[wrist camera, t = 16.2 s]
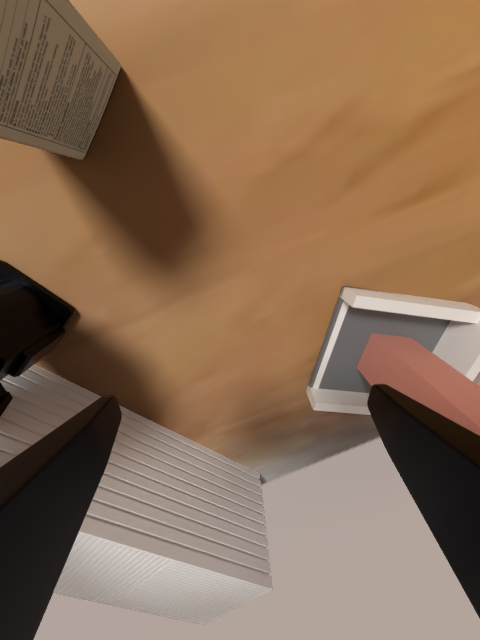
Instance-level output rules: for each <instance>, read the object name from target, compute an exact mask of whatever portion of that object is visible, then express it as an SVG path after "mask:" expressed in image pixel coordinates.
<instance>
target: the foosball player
mask: <svg viewBox="0 0 480 640" xmlns="http://www.w3.org/2000/svg"><path fill="white" fill-rule="evenodd" d="M357 369H358V370H359V371H360V372H361V374H362V375H363V376H364V377H365V379H366V380H367V381H368V383H369V384H370V385H371V386H372V385H374V384H386V385H388V386H390V387H392V388H394V389H396V390H397V391H399V392H401V393H403V394H405V395H407V396H408V397H410V398H412V399H414V400H416V401H417V402H419V403H421V404H423V405H425V406H427V407H428V408H430V409H432V410H434V411H436V412H437V413H439V414H441V415H443V416H445V417H446V418H448V419H450V420H452V421H454V422H456V423H457V424H459V425H461V426H463V427H465V428H466V429H468V430H470V431H472V432H474V433H476V434H477V435H479V436H480V386H478V385H477V384H475V383H474V382H473V381H471V380H470V379H468V378H467V377H466V376H464V375H463V374H461V373H460V372H459V371H457V370H456V369H454V368H453V367H452V366H450V365H449V364H447V363H446V362H444V361H443V360H442V359H440V358H439V357H437V356H436V355H435V354H433V353H432V352H430V351H429V350H428V349H426V348H425V347H423V346H422V345H421V344H419V343H418V342H416V341H415V340H414V339H412V338H410V337H402V336H394V335H386V334H377V333H371V336H370V338H369V340H368V343H367V345H366V347H365V349H364V352H363V354H362V356H361V358H360V361H359V363H358V365H357Z"/></svg>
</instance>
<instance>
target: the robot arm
mask: <svg viewBox="0 0 480 640" xmlns="http://www.w3.org/2000/svg"><path fill="white" fill-rule="evenodd" d="M65 309H66V310H67V311H68V312H66V311H65ZM73 314H74V309H73V308H72V307H71V306H70V305H68V304H67V303H65V302H64V301H62V300H61V299H59V298H58V297H56V296H55V295H53V294H52V293H50V292H49V291H47V290H46V289H44V288H43V287H41V286H40V285H38V284H37V283H35V282H34V281H32V280H31V279H29V278H28V277H26V276H25V275H23V274H22V273H20V272H18V271H17V270H15V269H14V268H12V267H11V266H9V265H8V264H6V263H5V262H3V261H1V260H0V381H1V380H2V379H3V378H5V377H6V376H7V375H10V376H12V377H18V376H20V375H21V374H23V373H24V372H25V371H26V370H28V369H29V368H30V367H31V366H33V365H34V364H35V363H37V362H38V361H39V360H40V359H42V358H43V357H44V356H45V355H47V354H48V353H49V352H50V351H52V350H53V349H54V347H55V346H56V345H57V343H58V342H59V341H60V339H61V338H62V336H63V335H64V334H65V329H64V326H65V325H66V323H67V322H68V321H69V319H70V318H71V316H72V315H73ZM12 399H13V397H12V395H11V394H10V392H8V391H6V390H5V388H4V387H3V385H2V384H1V382H0V416H1V415H2V414H3V412H4V411H5V409H6V408H7V406H8V405H9V403H10V402H11V400H12ZM367 406H368V409H369V412H370V414H371V416H372V418H373V421H374V423H375V425H376V428H377V430H378V432H379V434H380V437H381V439H382V441H383V444H384V446H385V448H386V450H387V452H388V454H389V456H390V457H391V459H392V461H393V463H394V465H395V467H396V468H397V470H398V472H399V474H400V476H401V477H402V479H403V481H404V483H405V485H406V486H407V488H408V490H409V492H410V494H411V495H412V497H413V499H414V501H415V503H416V504H417V506H418V508H419V510H420V512H421V514H422V515H423V517H424V519H425V521H426V523H427V524H428V526H429V528H430V530H431V531H432V533H433V535H434V537H435V539H436V541H437V542H438V544H439V546H440V548H441V549H442V551H443V553H444V555H445V557H446V558H447V560H448V562H449V564H450V566H451V568H452V569H453V571H454V573H455V575H456V576H457V578H458V580H459V582H460V584H461V586H462V587H463V589H464V591H465V593H466V595H467V596H468V598H469V600H470V602H471V604H472V605H473V607H474V609H475V611H476V613H477V614H478V616H479V618H480V436H479V435H477V434H476V433H474V432H472V431H470V430H468V429H466V428H465V427H463V426H461V425H459V424H457V423H456V422H454V421H452V420H450V419H448V418H446V417H445V416H443V415H441V414H439V413H437V412H436V411H434V410H432V409H430V408H428V407H427V406H425V405H423V404H421V403H419V402H417V401H416V400H414V399H412V398H410V397H408V396H407V395H405V394H403V393H401V392H399V391H397V390H396V389H394V388H392V387H390V386H388V385H386V384H374V385H372V387H371V390H370V393H369V397H368V401H367ZM121 419H122V412H121V409H120V406H119V403H118V400H117V397H116V396H114V395H111V396H102V397H100V398H99V399H97V400H96V401H95V402H93V403H92V404H90V405H89V406H87V407H86V408H85V409H83V410H82V411H80V412H79V413H77V414H76V415H74V416H73V417H72V418H70V419H69V420H67V421H66V422H64V423H63V424H62V425H60V426H59V427H57V428H56V429H54V430H53V431H52V432H50V433H49V434H47V435H46V436H44V437H43V438H42V439H40V440H39V441H37V442H36V443H34V444H33V445H32V446H30V447H29V448H27V449H26V450H24V451H23V452H21V453H20V454H19V455H17V456H16V457H14V458H13V459H11V460H10V461H9V462H7V463H6V464H4V465H3V466H1V467H0V640H33V639H34V637H35V634H36V632H37V630H38V627H39V625H40V622H41V620H42V618H43V615H44V613H45V611H46V608H47V606H48V603H49V601H50V599H51V596H52V594H53V592H54V589H55V587H56V585H57V582H58V580H59V578H60V575H61V573H62V570H63V568H64V566H65V563H66V561H67V559H68V556H69V554H70V552H71V549H72V547H73V545H74V542H75V540H76V537H77V535H78V533H79V530H80V528H81V526H82V523H83V521H84V519H85V516H86V514H87V511H88V509H89V507H90V504H91V502H92V500H93V497H94V495H95V493H96V490H97V488H98V485H99V483H100V481H101V478H102V476H103V474H104V471H105V469H106V466H107V463H108V461H109V458H110V454H111V451H112V448H113V445H114V442H115V438H116V435H117V432H118V429H119V426H120V422H121Z"/></svg>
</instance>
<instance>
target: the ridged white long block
mask: <svg viewBox="0 0 480 640" xmlns="http://www.w3.org/2000/svg"><path fill="white" fill-rule="evenodd" d="M0 382H1V384H2V385H3V387H4V388H5V390H6V391H8V392H10V394H11V395H12V397H13V399H12V400H11V402H10V403H9V405H8V406H7V408H6V409H5V411H4V412H3V414H2V415H1V416H0V467H1V466H3V465H4V464H6V463H7V462H9V461H10V460H11V459H13V458H14V457H16V456H17V455H19V454H20V453H21V452H23V451H24V450H26V449H27V448H29V447H30V446H32V445H33V444H34V443H36V442H37V441H39V440H40V439H42V438H43V437H44V436H46V435H47V434H49V433H50V432H52V431H53V430H54V429H56V428H57V427H59V426H60V425H62V424H63V423H64V422H66V421H67V420H69V419H70V418H72V417H73V416H74V415H76V414H77V413H79V412H80V411H82V410H83V409H85V408H86V407H87V406H89V405H90V404H92V403H93V402H95V401H96V400H97V399H99V398H100V397H101V396H99V395H97V394H95V393H93V392H91V391H89V390H87V389H85V388H83V387H80V386H78V385H76V384H74V383H72V382H70V381H68V380H66V379H64V378H62V377H60V376H58V375H56V374H54V373H52V372H50V371H48V370H45V369H43V368H41V367H39V366H37V365H35V364H34V365H33V366H31V367H30V368H29V369H28V370H26V371H25V372H24V373H23V374H21V375H20V376H18V377H12V376H10V375H7V376H6V377H5V378H3V379H2V380H1V381H0ZM119 406H120V405H119ZM120 409H121V412H122V419H121V422H120V426H119V429H118V432H117V435H116V438H115V442H114V445H113V448H112V451H111V454H110V458H109V461H108V463H107V466H106V469H105V471H104V474H103V476H102V478H101V481H100V483H99V485H98V488H97V490H96V493H95V495H94V497H93V500H92V502H91V504H90V507H89V509H88V511H87V514H86V516H85V519H84V521H83V523H82V526H81V528H80V530H79V533H78V535H77V537H76V540H75V542H74V545H73V547H72V549H71V552H70V554H69V556H68V559H67V561H66V563H65V566H64V568H63V570H62V573H61V575H60V578H59V580H58V582H57V585H56V587H55V589H54V592H53V593H56V594H59V595H64V596H69V597H74V598H78V599H83V600H88V601H93V602H97V603H102V604H107V605H112V606H116V607H121V608H125V609H130V610H135V611H140V612H144V613H150V614H154V615H158V616H163V617H168V618H173V619H177V620H182V621H187V622H191V623H196V624H201V625H206V624H208V623H210V622H212V621H214V620H216V619H218V618H219V617H221V616H223V615H225V614H227V613H229V612H231V611H233V610H234V609H236V608H238V607H240V606H242V605H244V604H245V603H248V602H249V601H251V600H253V599H255V598H257V597H259V596H261V595H263V594H265V593H267V592H268V591H270V590H272V589H273V588H272V579H271V576H269V573H270V572H271V570H270V563H269V562H268V561H267V560H268V559H269V552H268V550H267V549H266V547H268V544H267V538H266V537H265V535H266V527H265V526H264V524H265V517H264V516H263V514H264V508H263V506H262V504H263V499H262V497H261V496H262V490H261V489H260V487H261V481H260V480H259V479H260V473H258V472H256V471H254V470H251V469H249V468H247V467H245V466H243V465H241V464H239V463H237V462H235V461H233V460H231V459H229V458H227V457H225V456H223V455H221V454H218V453H216V452H214V451H212V450H210V449H208V448H206V447H204V446H202V445H200V444H198V443H196V442H194V441H192V440H190V439H188V438H186V437H183V436H181V435H179V434H177V433H175V432H173V431H171V430H169V429H167V428H165V427H163V426H161V425H159V424H157V423H155V422H153V421H151V420H148V419H146V418H144V417H142V416H140V415H138V414H136V413H134V412H132V411H130V410H128V409H126V408H124V407H122V406H120Z"/></svg>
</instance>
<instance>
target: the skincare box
mask: <svg viewBox="0 0 480 640" xmlns="http://www.w3.org/2000/svg"><path fill="white" fill-rule="evenodd" d="M120 67H121V66H120V63H119V62H118V60H117V59H116V58H115V57H114V55H113V54H112V53H111V52H110V51H109V49H108V48H107V47H106V46H105V44H104V43H103V42H102V41H101V39H100V38H99V37H98V36H97V35H96V33H95V32H94V31H93V30H92V28H91V27H90V26H89V25H88V23H87V22H86V21H85V20H84V19H83V17H82V16H81V15H80V14H79V12H78V11H77V10H76V9H75V8H74V6H73V5H72V4H71V3H70V1H69V0H0V138H2V139H5V140H9V141H13V142H17V143H20V144H24V145H28V146H31V147H35V148H38V149H42V150H46V151H49V152H53V153H57V154H60V155H64V156H67V157H71V158H75V159H78V160H83V159H84V157H85V155H86V152H87V150H88V148H89V146H90V143H91V141H92V139H93V137H94V134H95V132H96V130H97V127H98V125H99V122H100V120H101V117H102V115H103V113H104V110H105V108H106V105H107V102H108V100H109V97H110V95H111V92H112V89H113V87H114V84H115V81H116V79H117V76H118V73H119V71H120Z"/></svg>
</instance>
